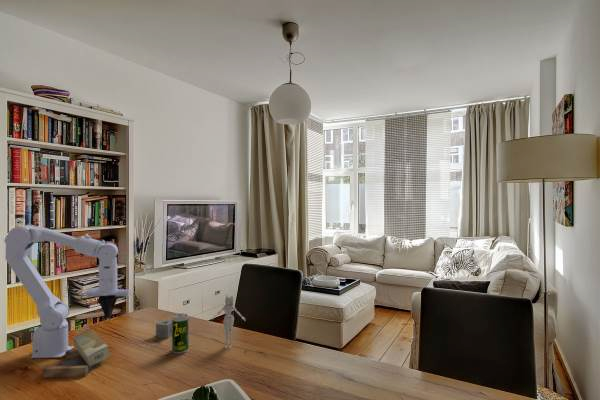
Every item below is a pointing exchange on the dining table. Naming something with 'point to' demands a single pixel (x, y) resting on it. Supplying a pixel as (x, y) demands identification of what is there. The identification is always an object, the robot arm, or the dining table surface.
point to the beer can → (180, 333)
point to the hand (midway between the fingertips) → (108, 316)
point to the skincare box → (91, 347)
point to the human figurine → (228, 317)
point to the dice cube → (164, 329)
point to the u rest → (69, 366)
